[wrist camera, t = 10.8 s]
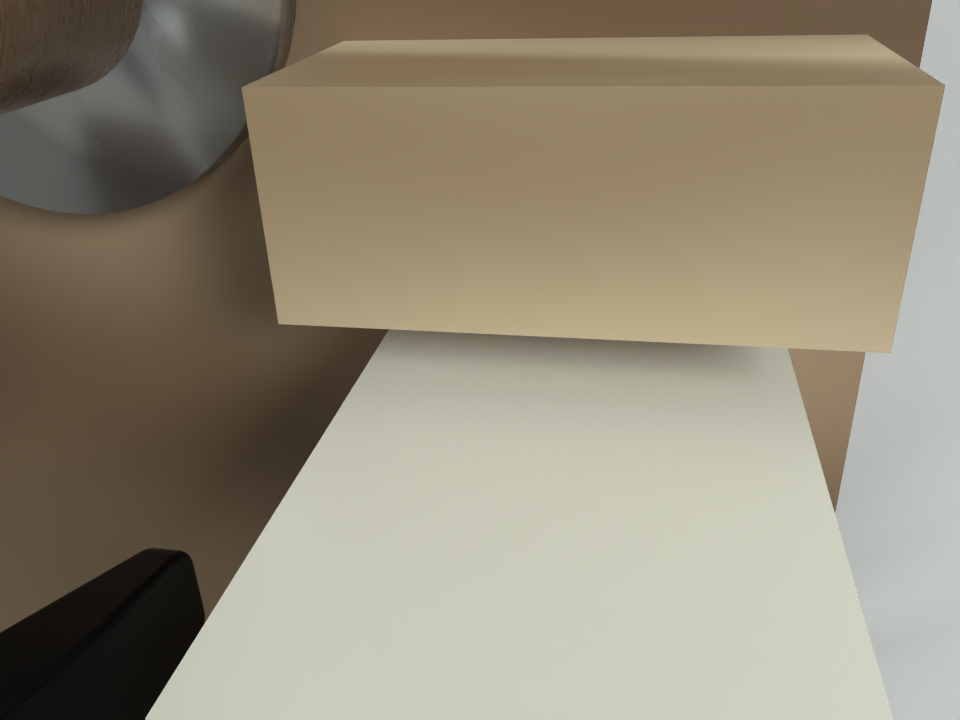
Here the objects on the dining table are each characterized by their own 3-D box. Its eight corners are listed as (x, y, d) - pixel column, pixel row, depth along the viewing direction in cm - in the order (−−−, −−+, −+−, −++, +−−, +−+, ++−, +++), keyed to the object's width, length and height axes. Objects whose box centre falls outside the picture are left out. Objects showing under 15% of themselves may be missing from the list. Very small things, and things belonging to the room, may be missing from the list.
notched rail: (753, 749, 12) (771, 930, 10) (411, 706, 13) (362, 864, 11) (866, 34, 8) (945, 84, 6) (343, 40, 9) (242, 86, 7)
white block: (736, 592, 11) (805, 1201, 6) (432, 563, 12) (254, 1083, 7) (775, 307, 9) (923, 824, 4) (412, 292, 10) (145, 717, 5)
